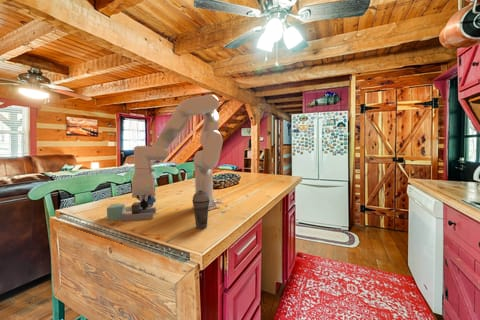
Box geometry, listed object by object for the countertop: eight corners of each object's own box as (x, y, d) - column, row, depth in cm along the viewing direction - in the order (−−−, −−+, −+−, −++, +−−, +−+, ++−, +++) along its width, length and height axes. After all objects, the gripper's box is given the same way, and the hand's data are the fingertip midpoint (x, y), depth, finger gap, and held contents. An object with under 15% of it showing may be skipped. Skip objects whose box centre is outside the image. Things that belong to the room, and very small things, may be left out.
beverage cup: (193, 224, 100) (192, 179, 98) (210, 223, 101) (209, 178, 99) (191, 230, 93) (190, 182, 91) (209, 230, 93) (209, 181, 92)
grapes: (133, 207, 127) (132, 186, 126) (142, 204, 134) (141, 183, 133) (150, 209, 123) (149, 187, 122) (158, 205, 130) (158, 185, 129)
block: (125, 215, 112) (124, 203, 112) (121, 219, 107) (120, 207, 106) (111, 216, 111) (111, 204, 111) (107, 220, 105) (106, 208, 105)
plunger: (141, 214, 113) (140, 202, 113) (138, 217, 109) (138, 204, 108) (124, 215, 112) (124, 202, 111) (121, 218, 107) (121, 205, 106)
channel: (156, 212, 118) (155, 207, 117) (152, 218, 107) (152, 213, 107) (126, 214, 115) (126, 209, 114) (120, 221, 104) (120, 215, 104)
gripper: (160, 170, 115) (161, 205, 116) (128, 171, 112) (129, 207, 113) (158, 172, 108) (159, 210, 109) (124, 173, 104) (125, 212, 106)
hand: (144, 208), depth 111 cm, fingers closed
